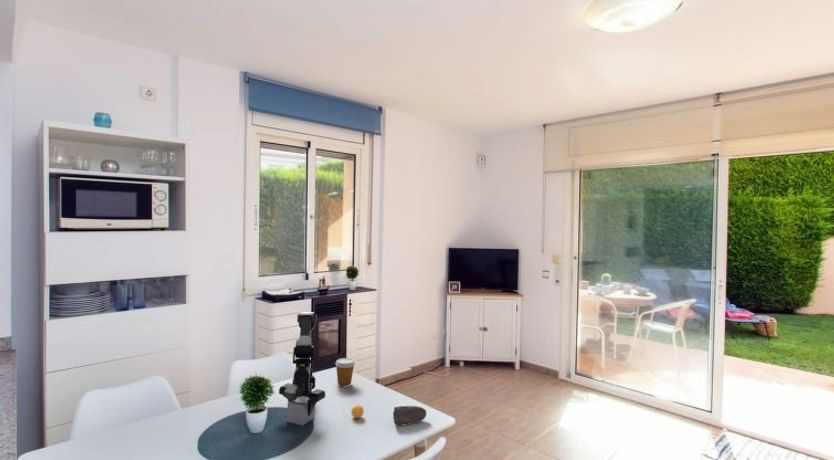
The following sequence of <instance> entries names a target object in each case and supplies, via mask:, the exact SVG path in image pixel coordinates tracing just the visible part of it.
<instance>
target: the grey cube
mask: <svg viewBox="0 0 834 460" xmlns="http://www.w3.org/2000/svg"><path fill="white" fill-rule="evenodd" d="M308 400H309V397H304V396H301V397H297V399H296V400H291V401H289V402H288V401H287V410H286V411H287V412H286V413H287V414H286V422H287V423H290V422H291V424H294V423H295V424H294V425H298V424H299V425H298V426H302V425H303V426H305V425H306V424H307V422H308V423H309V422H311V421H312V420H314V419H315V416H316V415H315V412H316V411H315V410H316V406H315V407H314V409H313V411H312V413H311V415H310V416H308V402H307V401H308ZM304 424H305V425H304Z"/></svg>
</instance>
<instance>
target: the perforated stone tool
mask: <svg viewBox="0 0 834 460" xmlns="http://www.w3.org/2000/svg"><path fill="white" fill-rule="evenodd" d="M392 416H393V417H392V418H393V422H394V425H395V426H404V425H403V424H407V425H409V424H408V423H412V424H414V423H413V422H417V421H420V420H422V421H423V420H424V419H425V418H426V416H427V410H426V409H425V408H423V407H421V406H417V405H416V406H415V405H405V406H402V405H401V406H394V408H393V412H392ZM420 422H421V421H420ZM417 423H418V422H417Z"/></svg>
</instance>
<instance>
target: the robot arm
mask: <svg viewBox="0 0 834 460" xmlns="http://www.w3.org/2000/svg"><path fill="white" fill-rule="evenodd" d="M317 315H318V314H315V312H314V311H310V312H308V311H301V312H300V314H299V313H298V314H297V318H296V319H297V320H296V322H297V323H298V326H299V330H300V332H299V338H298V339H296V340H295V341H296V342H295V346H293V354H292V364H294V365H295V369H294V373H293V378H292V382H291V383H290V382H287V383H285V384H283V385H281V386H280V387H279V389H278V394H279V395H281V396H282V397H283V398H285V399H286V400H287V403H288V402H289V401H291V400H296V399H297V397H301V396H304V397H309V400H308V401H307V402H308V416H310V415H311V413H312V411H313V409H314V407H315V408H316V404H317V403H318V402H319V401H322V400H323V399H325V398H326V391H325V390H323V389H319V388H316V377H315V375H314V374H313V370H312V368H311V364H313V361H315V356H316V354H315V353H316V350H315V349H316V348H315V346H314V345H313V340H312V331H313V330H314V328H315V325H316V323H317ZM315 388H316V389H315Z"/></svg>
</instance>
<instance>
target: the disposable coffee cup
mask: <svg viewBox="0 0 834 460" xmlns="http://www.w3.org/2000/svg"><path fill="white" fill-rule="evenodd" d="M355 364H356V363H355V360H354V359H352V358H351V357H350V358H348V357H342V358H341V357H340V358H339V359H337V360H336V361H335V367H336V377H337V386H338V385H340V386H348V385H350V384H351V385H352V379H353V373H354V366H355ZM351 385H350V386H351ZM340 386H339V387H340ZM348 387H349V386H348Z"/></svg>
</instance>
